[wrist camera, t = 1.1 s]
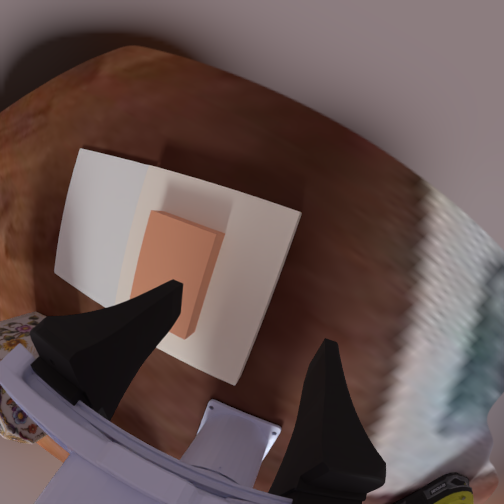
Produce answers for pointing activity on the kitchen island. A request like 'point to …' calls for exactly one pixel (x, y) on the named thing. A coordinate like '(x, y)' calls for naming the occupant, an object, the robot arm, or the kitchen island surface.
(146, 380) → the kitchen island surface
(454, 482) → the power drill
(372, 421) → the kitchen island surface
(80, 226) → the mat
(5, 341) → the floral ceramic jar
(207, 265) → the pink flat block
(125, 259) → the white flat slab
